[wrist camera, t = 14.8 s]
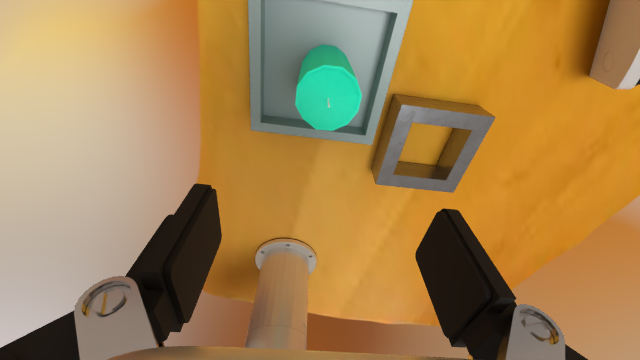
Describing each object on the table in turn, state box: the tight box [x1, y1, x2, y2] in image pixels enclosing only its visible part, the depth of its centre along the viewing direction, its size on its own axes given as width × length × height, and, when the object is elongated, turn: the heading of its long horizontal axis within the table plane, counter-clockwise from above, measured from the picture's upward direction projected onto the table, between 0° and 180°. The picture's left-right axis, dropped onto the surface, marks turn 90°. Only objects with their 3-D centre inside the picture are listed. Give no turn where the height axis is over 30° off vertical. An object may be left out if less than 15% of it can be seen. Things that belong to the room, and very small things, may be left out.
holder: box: [371, 94, 495, 193], centre depth 36 cm, size 12×12×4 cm
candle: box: [295, 44, 362, 131], centre depth 27 cm, size 6×6×12 cm
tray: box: [248, 0, 413, 145], centre depth 31 cm, size 16×16×4 cm
